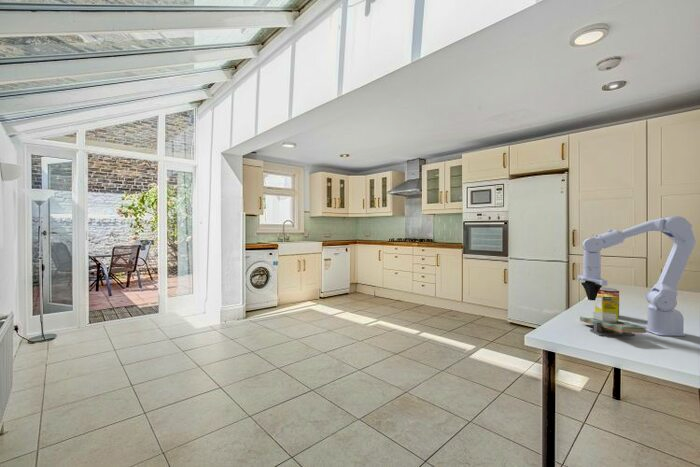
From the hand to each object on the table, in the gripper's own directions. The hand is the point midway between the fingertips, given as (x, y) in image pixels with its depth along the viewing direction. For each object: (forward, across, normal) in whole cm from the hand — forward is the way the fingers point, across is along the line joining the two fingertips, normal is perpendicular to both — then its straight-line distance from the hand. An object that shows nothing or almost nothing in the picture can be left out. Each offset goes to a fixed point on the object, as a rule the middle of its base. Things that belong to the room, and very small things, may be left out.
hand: (591, 300), depth 130 cm
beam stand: (+10, +11, 0) cm, 15 cm away
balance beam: (+8, +10, 0) cm, 13 cm away
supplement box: (+10, -6, +10) cm, 16 cm away
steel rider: (+7, +8, 0) cm, 10 cm away
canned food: (+10, -15, +17) cm, 25 cm away
